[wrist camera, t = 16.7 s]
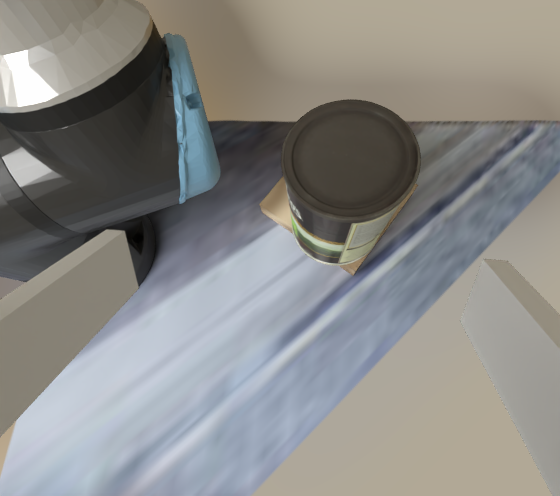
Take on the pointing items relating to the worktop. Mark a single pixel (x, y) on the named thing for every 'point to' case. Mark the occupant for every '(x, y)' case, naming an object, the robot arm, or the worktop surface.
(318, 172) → the coffee can
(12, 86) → the robot arm
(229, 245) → the worktop surface
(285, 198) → the chopping board
